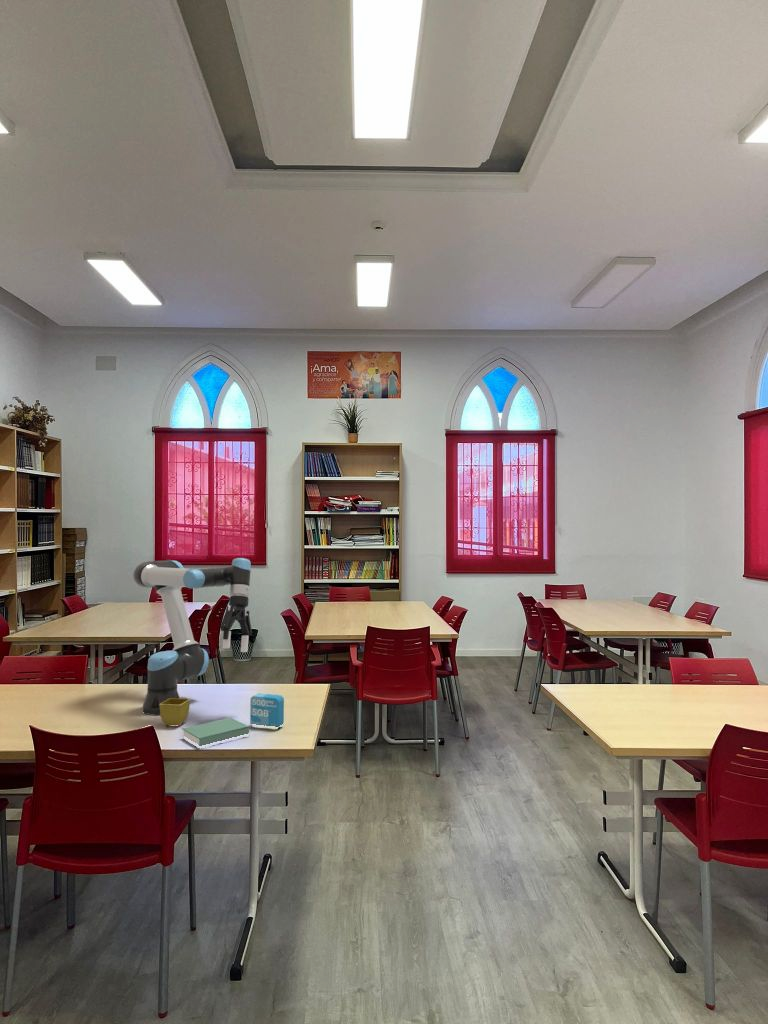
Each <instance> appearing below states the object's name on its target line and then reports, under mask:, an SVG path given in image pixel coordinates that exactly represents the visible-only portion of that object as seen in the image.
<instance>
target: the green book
mask: <svg viewBox="0 0 768 1024" xmlns="http://www.w3.org/2000/svg"><path fill="white" fill-rule="evenodd" d="M182 731H183V737H184V736H185V737H187V738H188V739H190V740H191V741H193V742H195V743H197V744H198V745H199V746H202V745H206V744H210V743H213V742H217V741H222V740H225V739H229V738H232V737H237V736H240V735H244V734H248V733H249V734H250V726H249V725H247V724H245V723H243V722H241V721H239V720H237V719H235V718H232V717H228V718H223V719H219V720H218V719H217V720H213V721H210V722H204V723H201V724H195V725H192V726H187V727H184V728H182Z"/></svg>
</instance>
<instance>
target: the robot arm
mask: <svg viewBox="0 0 768 1024" xmlns="http://www.w3.org/2000/svg"><path fill="white" fill-rule="evenodd" d="M251 562H252V561H250V559H248V558H245V557H237V558H234V559H232V562H231V565H228V566H224V567H214V568H213V567H212V568H209V567H208V568H185V567H184V566H183V565H182V562H180V561H177V560H173V559H172V560H171V559H166V560H153V561H152V560H151V561H150V560H149V561H148V560H147V561H144V562H141V563H139V564H138V565H137V566H136V567H135V569H134V571H133V574H132V576H133V580H134V582H135V584H137V585H138V586H139V587H142V588H147V589H151V588H155V592H156V594H158V595H160V596H161V600H162V604H163V608H164V612H165V616H166V620H167V623H168V627H169V628H168V629H169V631H170V635H171V638H172V642H173V648H172V650H165V651H163V650H162V651H159V652H155V653H153V654H151V655H150V656H149V658H148V660H147V692H146V695H145V699H144V702H143V704H142V713H143V712H144V713H143V714H145V713H149V714H160V706H159V704H160V703H162V702H164V701H166V700H167V699H169V698H180V694H179V692H178V682H180V681H184V680H187V679H191V678H197V677H199V676H202V675H204V673H206V671H207V669H208V667H209V662H210V657H209V654H208V652H207V650H206V649H204V648H202V647H201V646H200V643H199V642H198V641H196V640H195V638H194V634H193V631H192V628H191V622H190V619H189V616H188V612H187V608H186V605H185V602H184V598H183V594H182V593H183V592H182V588H184V587H185V588H188V589H192V590H193V589H194V590H196V589H201V588H211V587H213V588H215V587H217V588H218V587H219V588H220V587H224V586H228V585H229V586H230V587H229V588H230V589H229V598H228V599H229V600H228V605H227V606H226V609H225V613H224V615H223V618H222V621H221V624H220V627H219V628H220V630H221V632H223V633H222V634H223V635H222V639H223V640H222V647H221V649H230V648H231V639H232V638H231V635H232V631H231V628H232V627H233V625H234V623H235V622H236V621H237V622H238V623H239V627H240V630H241V633H242V635H241V641H240V653H248V649H249V636H250V637H251V636H252V635H253V632H252V631H253V630H252V625H251V619H250V618H251V617H250V611H249V610H246V608H248V607H249V600H250V599H249V595H250V585H251V583H250V582H251V572H252V568H251V567H252V566H251ZM180 699H181V698H180ZM149 714H148V715H149Z"/></svg>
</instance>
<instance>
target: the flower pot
mask: <svg viewBox="0 0 768 1024" xmlns="http://www.w3.org/2000/svg"><path fill="white" fill-rule="evenodd" d="M159 706H160V714H161V715H160V718H161V721H162V724H164V725H165V726H166V725H180V724H181V723H183V722H184V721H186V720H187V718H188V715H189V713H190V706H191V698H169V699H167V700H166V701H164V702H162V703H160V704H159ZM184 723H185V722H184ZM184 723H183V724H184ZM181 725H182V724H181ZM181 725H180V726H181Z"/></svg>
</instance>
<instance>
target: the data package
mask: <svg viewBox="0 0 768 1024" xmlns="http://www.w3.org/2000/svg"><path fill="white" fill-rule="evenodd" d="M249 708H250V710H249V712H250V714H249V715H250V716H249V717H250V718H249V721H250V724H256V725H264V726H265V725H266V726H275V727H279V726H280V725H282V724H283V723H284V722H285V712H284V711H285V699H284V696H283V695H280V694H272V693H270V694H269V693H261V692H260V693H259V692H258V693H256V694H254V695H253V696H251V697H250V707H249ZM283 725H284V724H283Z"/></svg>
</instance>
